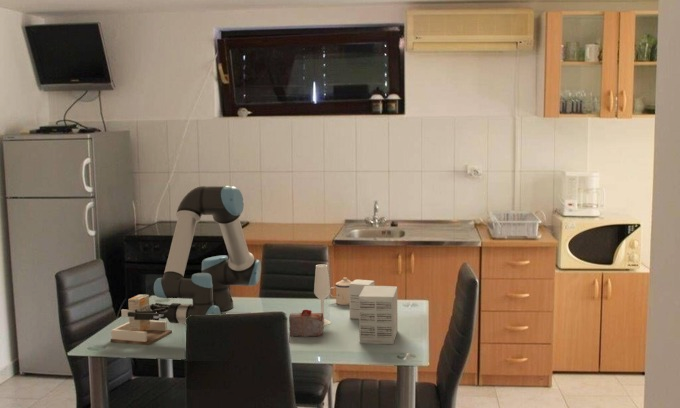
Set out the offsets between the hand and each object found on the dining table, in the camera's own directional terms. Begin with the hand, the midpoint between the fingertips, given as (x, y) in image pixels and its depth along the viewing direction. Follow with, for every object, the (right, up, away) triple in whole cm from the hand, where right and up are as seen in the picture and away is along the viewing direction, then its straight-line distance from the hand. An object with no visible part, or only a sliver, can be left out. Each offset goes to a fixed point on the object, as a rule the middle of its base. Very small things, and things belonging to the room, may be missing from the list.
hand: (128, 309), depth 269 cm
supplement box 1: (+5, -8, 0) cm, 9 cm away
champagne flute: (+75, -8, +15) cm, 77 cm away
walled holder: (+5, -11, 0) cm, 11 cm away
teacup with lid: (+83, -4, +47) cm, 96 cm away
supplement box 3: (+97, -10, -6) cm, 98 cm away
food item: (+69, -10, -1) cm, 70 cm away
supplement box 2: (+92, -7, +23) cm, 95 cm away
